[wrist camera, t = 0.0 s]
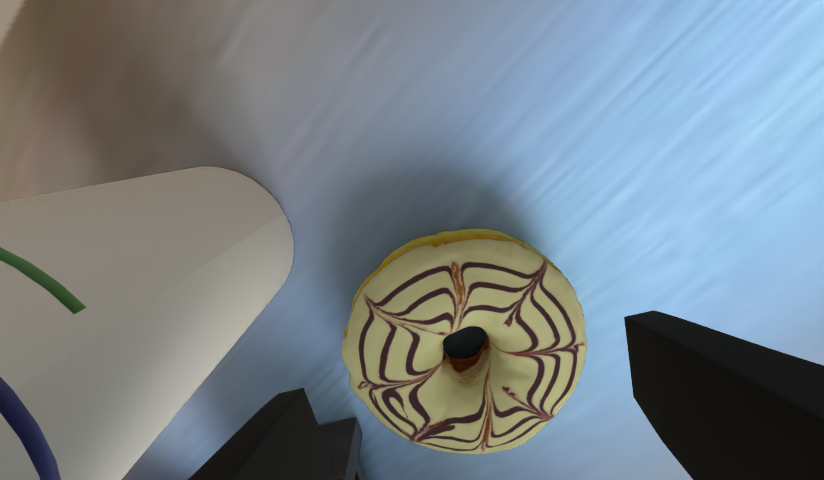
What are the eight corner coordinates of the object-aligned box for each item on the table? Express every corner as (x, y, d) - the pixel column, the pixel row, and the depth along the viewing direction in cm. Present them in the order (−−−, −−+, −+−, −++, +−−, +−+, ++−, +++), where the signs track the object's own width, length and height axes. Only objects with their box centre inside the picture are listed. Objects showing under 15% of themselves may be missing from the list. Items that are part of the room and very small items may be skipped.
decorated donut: (378, 428, 21) (370, 490, 17) (330, 243, 18) (308, 271, 15) (570, 399, 20) (604, 457, 17) (553, 202, 17) (588, 221, 14)
